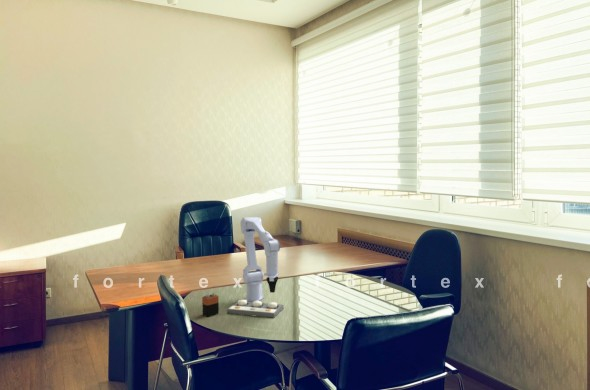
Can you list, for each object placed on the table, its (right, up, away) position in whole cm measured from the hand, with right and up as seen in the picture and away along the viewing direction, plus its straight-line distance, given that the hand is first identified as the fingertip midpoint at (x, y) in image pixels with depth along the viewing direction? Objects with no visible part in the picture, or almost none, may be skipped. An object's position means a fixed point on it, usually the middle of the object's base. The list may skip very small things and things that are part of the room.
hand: (272, 292), depth 234 cm
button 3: (0, -8, +1) cm, 8 cm away
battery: (-30, -10, -4) cm, 31 cm away
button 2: (-8, -8, +3) cm, 11 cm away
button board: (-8, -10, +1) cm, 13 cm away
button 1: (-15, -8, +5) cm, 18 cm away
